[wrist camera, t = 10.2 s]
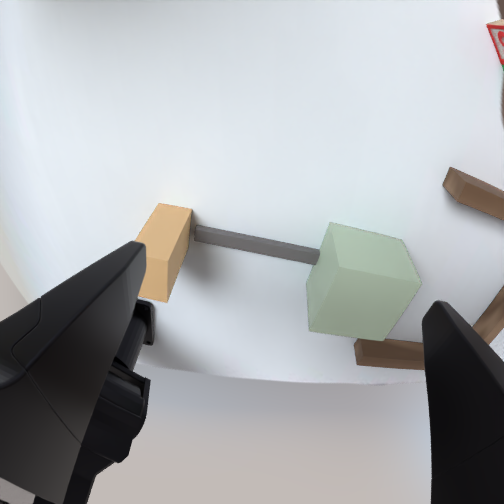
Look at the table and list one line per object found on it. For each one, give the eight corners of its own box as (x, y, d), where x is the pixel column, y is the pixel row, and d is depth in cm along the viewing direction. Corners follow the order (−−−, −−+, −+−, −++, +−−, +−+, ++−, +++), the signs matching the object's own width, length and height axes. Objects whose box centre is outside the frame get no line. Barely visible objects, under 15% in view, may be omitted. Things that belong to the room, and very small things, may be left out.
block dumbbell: (371, 295, 26) (385, 351, 22) (157, 254, 26) (132, 307, 21) (401, 239, 23) (426, 294, 18) (159, 187, 22) (126, 234, 17)
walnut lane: (457, 354, 31) (463, 371, 29) (353, 344, 31) (356, 365, 29) (553, 218, 20) (567, 233, 18) (450, 166, 19) (466, 181, 17)
